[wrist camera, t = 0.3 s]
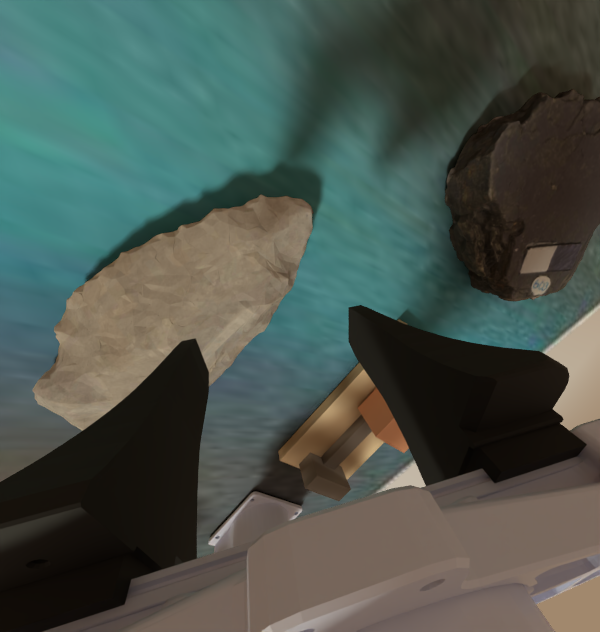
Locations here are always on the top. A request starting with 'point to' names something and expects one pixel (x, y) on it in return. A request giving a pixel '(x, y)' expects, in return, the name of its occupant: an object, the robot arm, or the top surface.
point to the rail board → (334, 438)
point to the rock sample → (528, 196)
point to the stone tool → (175, 303)
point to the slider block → (382, 421)
